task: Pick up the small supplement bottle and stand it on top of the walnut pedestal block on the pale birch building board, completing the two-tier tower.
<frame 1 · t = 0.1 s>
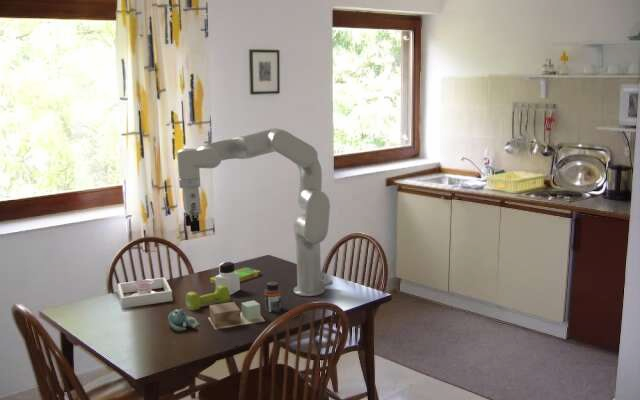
hand: (192, 228, 248), 31 cm above the table, fingers open, 9 cm apart
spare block: (251, 316, 242), point 1 cm above the table, touching plinth
teacup: (144, 297, 269), resting in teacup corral
dumbbell: (208, 307, 256), on the table
plinth: (236, 322, 240), on the table
stuffed animal: (184, 327, 237), on the table
medicine bottle: (228, 292, 273), on the table
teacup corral: (144, 296, 269), on the table
supplement bottle: (273, 312, 249), on the table
game box: (236, 280, 289), on the table
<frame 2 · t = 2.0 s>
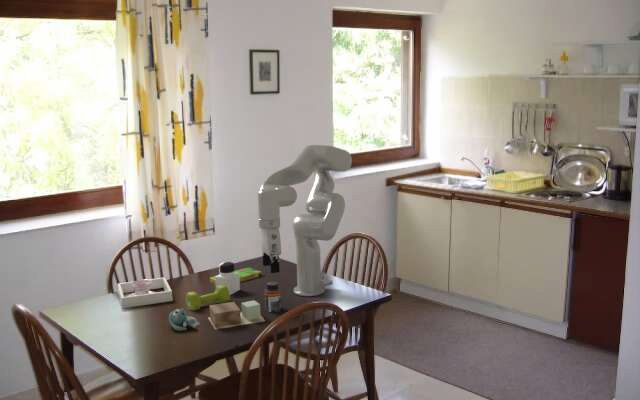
hand: (271, 269, 245), 17 cm above the table, fingers open, 9 cm apart
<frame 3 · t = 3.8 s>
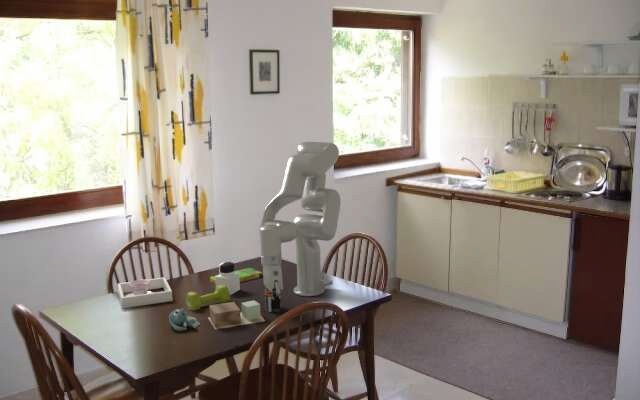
hand: (273, 305, 248), 3 cm above the table, fingers closed on supplement bottle, 6 cm apart
supplement bottle: (273, 312, 249), on the table, touching gripper
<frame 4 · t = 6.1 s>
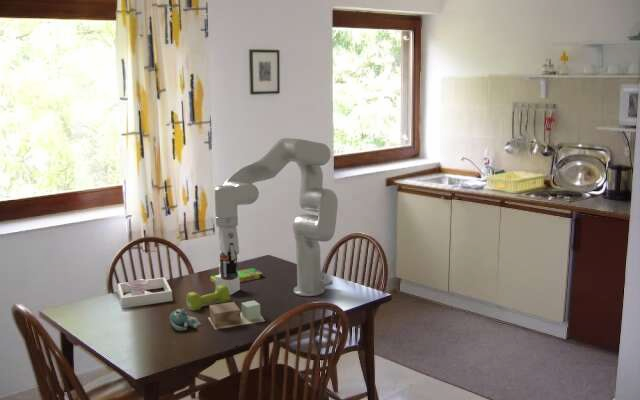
hand: (229, 271, 236), 19 cm above the table, fingers closed on supplement bottle, 6 cm apart
teacup: (138, 297, 269), resting in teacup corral
supplement bottle: (229, 278, 236), point 16 cm above the table, touching gripper
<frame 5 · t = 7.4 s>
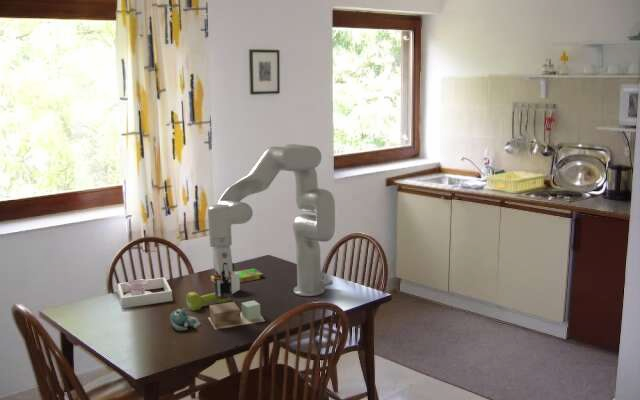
hand: (223, 290, 236), 13 cm above the table, fingers closed on supplement bottle, 6 cm apart
teacup: (138, 297, 269), resting in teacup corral
supplement bottle: (223, 297, 236), point 10 cm above the table, touching gripper
when the fingers open (10 cm above the table, at t = 8.4 s): supplement bottle stays where it is, resting on plinth.
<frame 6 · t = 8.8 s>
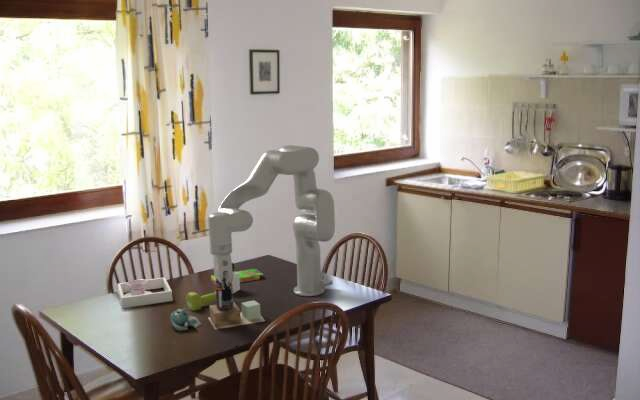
hand: (223, 295, 236), 11 cm above the table, fingers open, 9 cm apart
supplement bottle: (224, 308, 237), point 6 cm above the table, touching plinth
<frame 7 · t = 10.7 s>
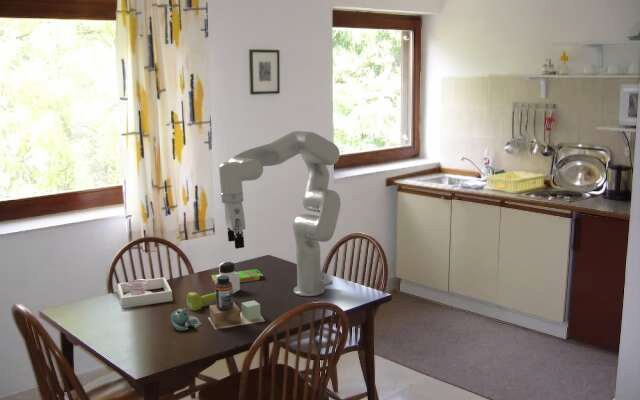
hand: (236, 244, 239), 27 cm above the table, fingers open, 9 cm apart
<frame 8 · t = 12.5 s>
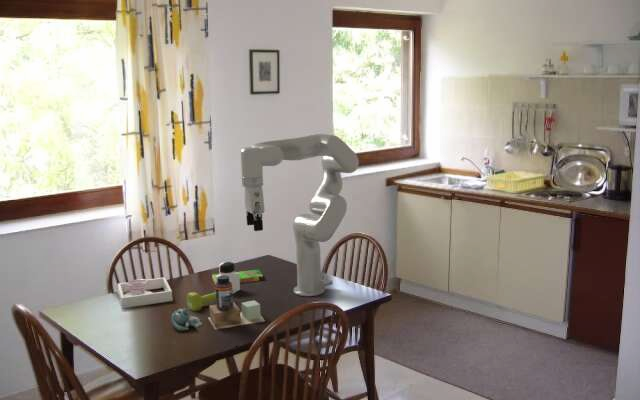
hand: (254, 227, 247), 31 cm above the table, fingers open, 9 cm apart
at the end: supplement bottle inside the target area on the plinth (0.2 cm from its centre), point 6.0 cm above the plinth's base; supplement bottle tilted 0°; the gripper is holding nothing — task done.
